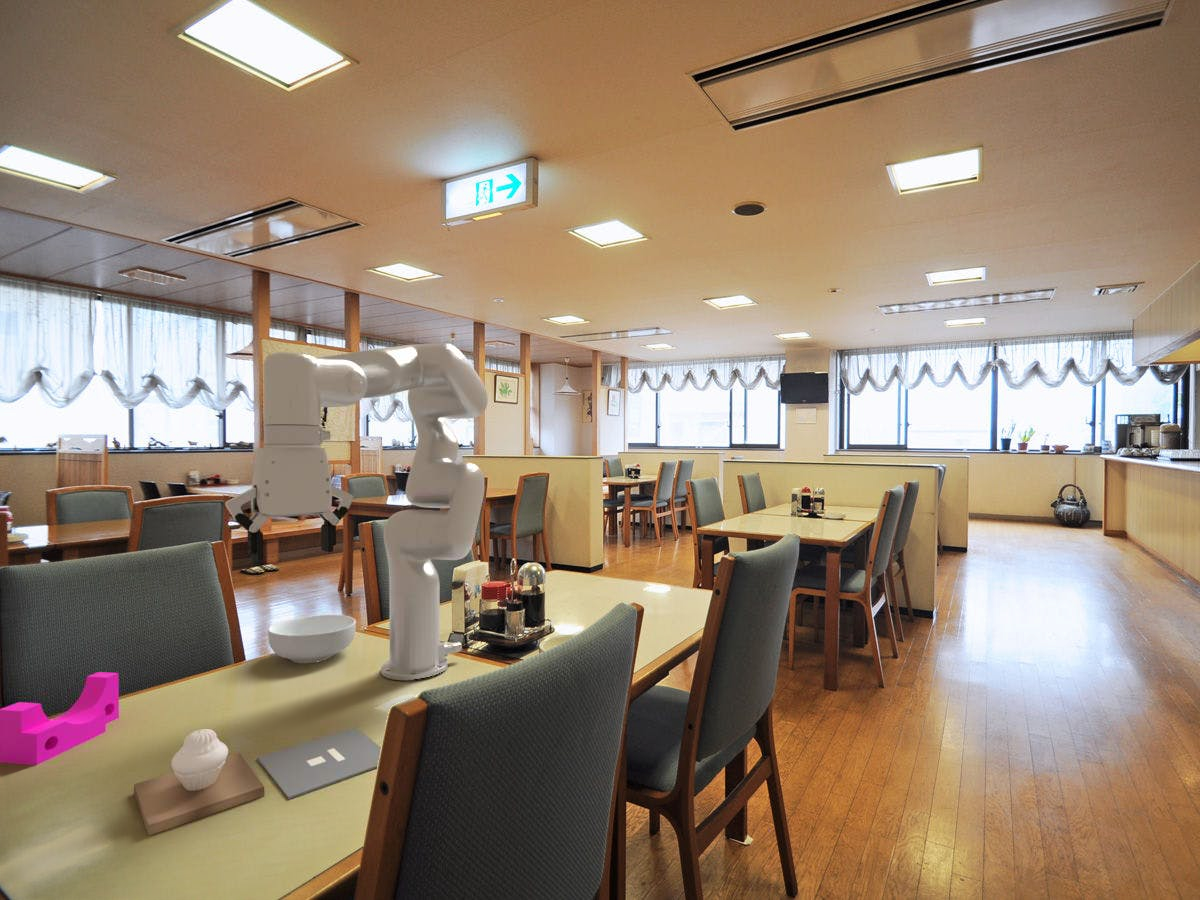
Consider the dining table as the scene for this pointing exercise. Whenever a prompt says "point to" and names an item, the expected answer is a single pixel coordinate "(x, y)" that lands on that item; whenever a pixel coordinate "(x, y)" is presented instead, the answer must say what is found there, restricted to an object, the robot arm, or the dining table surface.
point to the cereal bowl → (311, 637)
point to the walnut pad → (195, 796)
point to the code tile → (321, 761)
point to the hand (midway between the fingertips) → (293, 555)
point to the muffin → (199, 760)
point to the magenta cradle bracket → (58, 723)
